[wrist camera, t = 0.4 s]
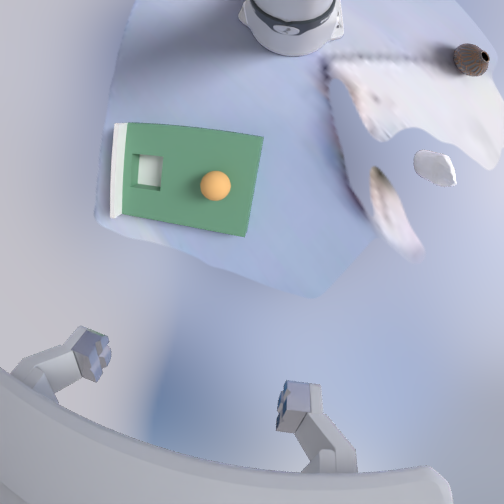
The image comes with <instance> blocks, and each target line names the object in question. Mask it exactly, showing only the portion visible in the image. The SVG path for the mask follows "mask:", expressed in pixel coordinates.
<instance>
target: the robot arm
mask: <svg viewBox="0 0 504 504" xmlns="http://www.w3.org/2000/svg"><path fill="white" fill-rule="evenodd" d="M238 18H239V20H240V21H241V22H242V23H243V24H244V25H246V26H247V27H249V28H250V30H251V31H252V33H253V35H254V37H255V38H256V39H257V41H258V42H259V43H260V44H261V45H262V46H264V47H265V48H267V49H268V50H270V51H272V52H275V53H277V54H281V55H285V56H302V55H307V54H310V53H313V52H315V51H317V50H318V49H320V48H321V47H322V46H323V45H325V44H326V43H327V42H329V41H333V40H336V39H339V38H341V37H342V36H343V34H344V29H343V18H342V9H341V1H340V0H245V2H244V3H243V6H242V8H241V10H240V12H239V15H238ZM337 26H338V27H339V28H336V27H337ZM108 343H109V339H108V336H106V335H103V334H100V333H98V332H96V331H93V330H91V329H88V328H86V327H83V326H79V327H78V328H77V329H76V330H75V331H74V332H73V333H72V335H71V336H70V337H69V338H68V339H67V341H66V342H65V343H64V344H63V345H62V346H61V345H58V346H56V347H53V348H50V349H47V350H45V351H42V352H39V353H37V354H34V355H31V356H28V357H26V358H23V359H22V360H21V362H20V363H19V364H18V365H17V366H16V367H15V369H14V370H13V371H12V372H11V373H10V374H9V373H8V372H6V371H5V370H4V369H2V368H1V367H0V504H453V498H452V492H451V488H450V485H449V483H448V482H447V481H446V480H445V479H444V478H443V477H442V476H441V475H440V474H439V473H438V472H437V471H436V470H434V469H433V468H432V467H430V466H427V465H426V466H417V467H411V468H404V469H397V470H388V471H378V472H363V473H358V469H357V459H356V450H355V448H354V447H353V446H352V445H351V443H350V442H349V441H348V440H347V439H346V437H345V436H344V435H343V434H342V433H341V431H340V430H339V429H338V428H337V427H336V425H335V424H334V423H333V422H332V420H331V419H330V418H329V417H328V416H327V415H326V414H323V403H322V391H321V385H320V384H312V383H304V382H296V381H288V380H286V382H285V384H284V390H283V391H281V393H280V396H279V400H278V407H277V411H278V413H279V415H278V417H277V421H276V431H281V432H288V433H295V436H296V438H297V439H298V441H299V443H300V445H301V446H302V448H303V450H304V451H305V453H306V455H307V456H308V458H309V460H310V463H309V464H308V465H307V466H306V467H305V468H304V469H303V470H302V471H301V473H297V472H283V471H273V470H264V469H257V468H249V467H243V466H237V465H231V464H226V463H220V462H215V461H210V460H206V459H202V458H198V457H194V456H190V455H186V454H182V453H178V452H175V451H171V450H168V449H165V448H161V447H158V446H155V445H152V444H149V443H146V442H143V441H140V440H137V439H135V438H132V437H129V436H127V435H124V434H121V433H119V432H116V431H114V430H112V429H109V428H106V427H104V426H102V425H100V424H98V423H95V422H93V421H91V420H89V419H87V418H85V417H82V416H80V415H78V414H76V413H74V412H72V411H71V410H68V409H67V408H65V407H63V406H61V405H59V402H58V400H57V398H56V396H55V394H54V393H56V392H58V391H60V390H62V389H63V388H65V387H67V386H69V385H70V384H72V383H74V382H75V381H77V380H79V379H81V378H82V377H84V378H86V379H89V380H91V381H93V382H97V381H98V380H99V378H100V377H101V375H102V373H103V372H102V369H103V368H105V367H107V366H108V364H109V362H110V359H111V348H110V347H109V346H108V345H107V344H108Z"/></svg>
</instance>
